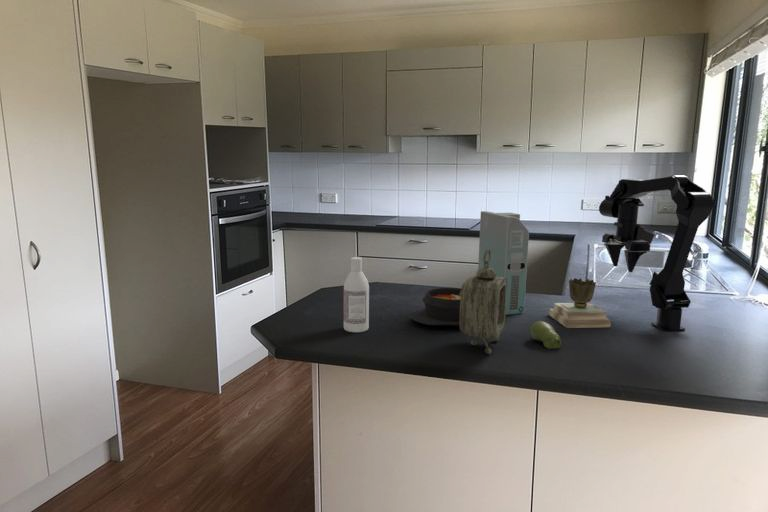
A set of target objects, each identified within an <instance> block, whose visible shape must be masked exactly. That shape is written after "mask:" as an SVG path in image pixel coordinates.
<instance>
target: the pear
mask: <svg viewBox="0 0 768 512" xmlns="http://www.w3.org/2000/svg"><path fill="white" fill-rule="evenodd" d="M530 335H531V338H532V339H533V340H535V341H537V342H542V344H543V346H544V348H546V349H548V350H554V349H560V348H561V345H562V339H561V336H560V335H559V334H558V333H557V332H556V329H555V328H554V327H553V326H552V325H551V324H549V323H548V322H546V321H543V320H541V321H540V320H538V321H535V322H534V323H532V325H531V327H530Z"/></svg>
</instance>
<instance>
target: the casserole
mask: <svg viewBox="0 0 768 512" xmlns="http://www.w3.org/2000/svg"><path fill="white" fill-rule="evenodd" d="M460 296H461V288H459V287H439V288H438V287H437V288H433V289H429V290H427V291H426V293H425V295H424V297H422V299H421V300H422V302H423V303H424V309H422V310H419V311H416V312H415V311H414V312H413V313H410V315H409V317H410V318H411V320H412V321H415V322H416V323H420V324H423V325H426V326H443V327H453V328H454V327H459V320H460Z"/></svg>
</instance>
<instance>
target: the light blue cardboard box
mask: <svg viewBox="0 0 768 512" xmlns="http://www.w3.org/2000/svg"><path fill="white" fill-rule="evenodd" d="M479 221H480V225H479V240H478V241H479V243H478V265H477V266H478V268H477V271H478V270H479V269H480V268H483V267H485V266H484V263H483V260H484V253H485V251H486V250H487V249H489V250H490V252H491V258H490V263H489V268H492V269H493V270H494V271H495V273H496V275H497V277H506V278H507V300H506V315H507V316H508V315H509V316H510V315H519V314H520V315H521V314H524V312H525V306H526V305H525V304H526V303H525V302H526V291H527V288H526V287H527V286H526V285H527V271H528V253H529V240H530V232H529V229H528V228H527V227H526V225H525V224H524V223H523V222H522V220H521V214H519V213H516V212H492V211H486V210H481V211H480V218H479ZM488 259H489V253H487V255H486V259H485V261H486V260H487V261H488ZM506 315H505V316H506Z"/></svg>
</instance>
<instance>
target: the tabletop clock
mask: <svg viewBox="0 0 768 512" xmlns="http://www.w3.org/2000/svg"><path fill="white" fill-rule="evenodd" d="M487 253H489V259H488V261H487V260H486V261H485V259H486V255H487ZM490 258H491V252H490V250H489V249H487V250H486V251H485V253H484V260H483V263H484V266H485V267H483V268H480V269H479V270H478V269H477V271H476V273H475V275H474V276H471V277H469V278H468V279H466V280H465V282H463V283H462V286H461V288H460V289H461V296H460V320H459V326H458V327H459V331H461V333H463V334H464V335H465V336H467V337H474V338H473V339H471V341H470V345H472V346H476V345H477V344H478V341H477V338H481V339H482V340H483V343H484V345H485V349H484V353H485V354H486V355H491V353H492V349H491V347H489V343H488V339H490V340H491V339H493V341H495V342H499V340H500V336H501V334H502V333H503V331H504V327H505V324H506V300H507V278H506V277H497V275H496V273H495V271H494V270H493V269H492V268H489V263H490Z"/></svg>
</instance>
